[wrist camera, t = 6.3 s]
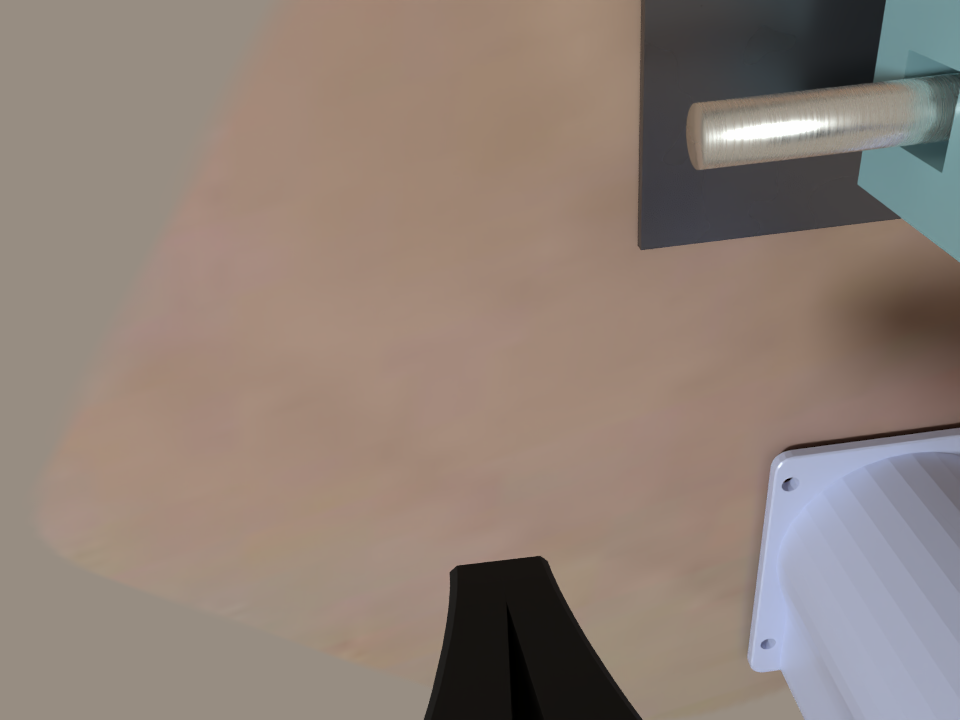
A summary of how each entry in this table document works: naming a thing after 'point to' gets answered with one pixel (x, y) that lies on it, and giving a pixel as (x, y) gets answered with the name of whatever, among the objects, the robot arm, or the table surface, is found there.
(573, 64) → the table surface
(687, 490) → the table surface
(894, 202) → the teal block on rod
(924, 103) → the grey metal stand
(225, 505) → the table surface
